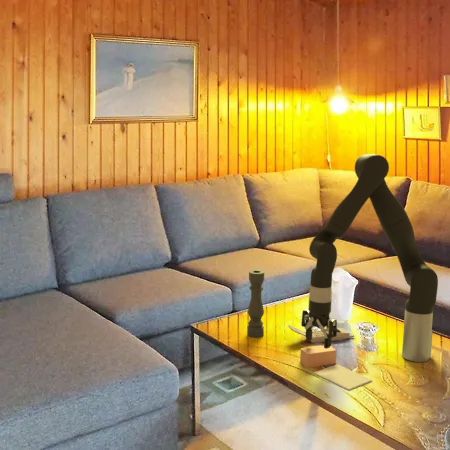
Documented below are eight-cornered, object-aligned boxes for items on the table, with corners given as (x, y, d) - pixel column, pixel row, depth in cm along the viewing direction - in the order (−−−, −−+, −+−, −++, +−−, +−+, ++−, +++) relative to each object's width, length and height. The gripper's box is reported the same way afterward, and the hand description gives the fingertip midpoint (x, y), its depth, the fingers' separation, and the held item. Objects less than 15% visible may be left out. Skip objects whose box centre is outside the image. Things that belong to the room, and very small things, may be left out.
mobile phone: (287, 325, 234) (348, 319, 241) (287, 340, 235) (347, 333, 242) (293, 330, 228) (355, 324, 235) (293, 346, 230) (355, 339, 236)
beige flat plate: (337, 365, 212) (337, 364, 212) (371, 381, 201) (372, 379, 201) (313, 373, 206) (313, 372, 206) (348, 390, 194) (348, 389, 194)
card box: (328, 358, 219) (329, 344, 218) (335, 363, 214) (336, 350, 213) (300, 362, 215) (300, 348, 214) (306, 368, 210) (307, 354, 209)
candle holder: (245, 333, 241) (246, 270, 236) (260, 331, 243) (261, 269, 238) (250, 339, 235) (251, 274, 230) (265, 337, 237) (267, 273, 232)
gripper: (343, 302, 207) (341, 348, 210) (313, 291, 218) (310, 335, 221) (328, 306, 202) (325, 353, 206) (297, 294, 213) (295, 339, 217)
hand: (317, 343), depth 213 cm, fingers open, 8 cm apart
